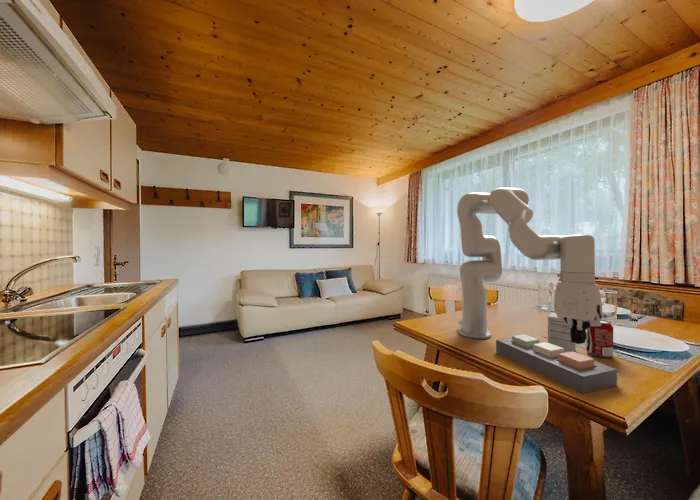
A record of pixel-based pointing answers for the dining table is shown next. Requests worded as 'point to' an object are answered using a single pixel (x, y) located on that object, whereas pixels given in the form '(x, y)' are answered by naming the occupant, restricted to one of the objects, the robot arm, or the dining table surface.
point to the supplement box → (559, 333)
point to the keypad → (559, 368)
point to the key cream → (548, 349)
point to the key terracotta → (576, 360)
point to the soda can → (600, 340)
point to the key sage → (524, 340)
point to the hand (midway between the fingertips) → (578, 342)
